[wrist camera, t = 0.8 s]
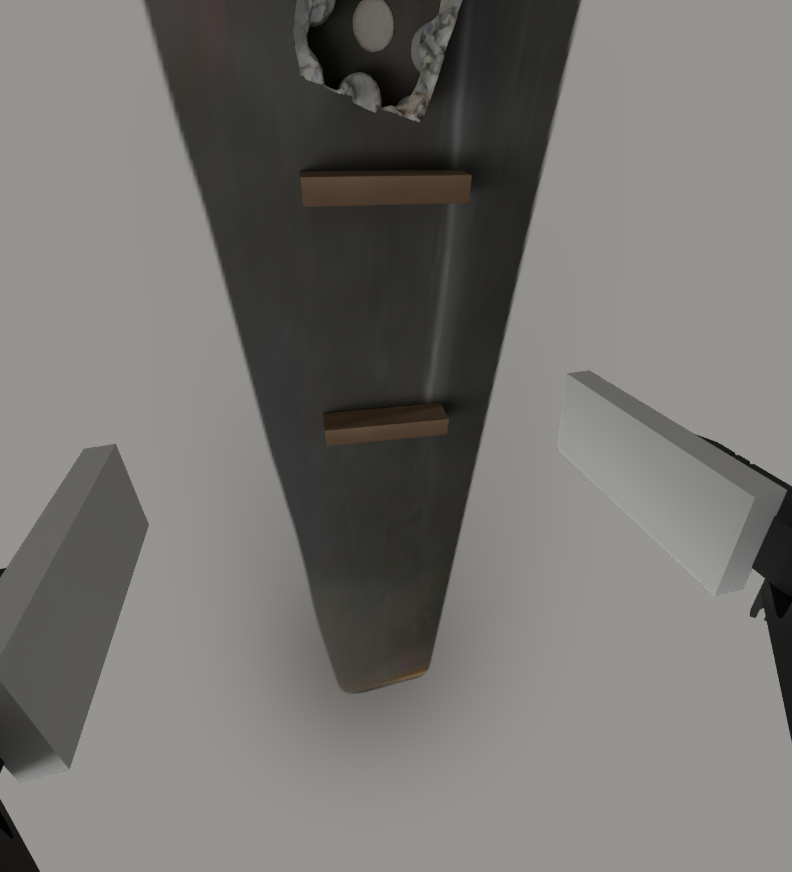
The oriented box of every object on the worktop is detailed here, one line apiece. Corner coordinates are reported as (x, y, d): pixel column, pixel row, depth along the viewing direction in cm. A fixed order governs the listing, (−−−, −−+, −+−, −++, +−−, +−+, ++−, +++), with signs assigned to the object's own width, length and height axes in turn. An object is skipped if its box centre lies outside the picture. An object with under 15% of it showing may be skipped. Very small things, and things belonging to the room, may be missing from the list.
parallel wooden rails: (299, 171, 28) (300, 177, 26) (459, 169, 30) (471, 175, 28) (324, 428, 40) (326, 446, 38) (439, 417, 41) (447, 433, 39)
